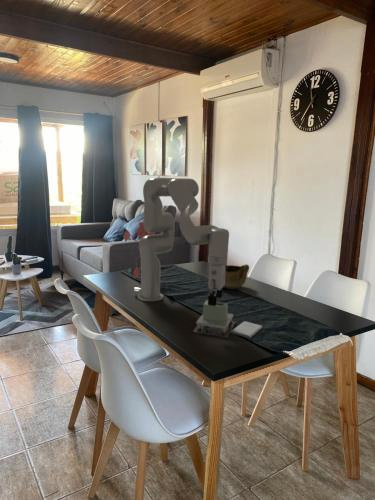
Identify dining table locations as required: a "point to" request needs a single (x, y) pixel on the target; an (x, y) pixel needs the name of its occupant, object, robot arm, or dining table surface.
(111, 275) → the dining table surface
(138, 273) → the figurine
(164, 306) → the dining table surface
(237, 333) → the external hard drive
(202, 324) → the chassis
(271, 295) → the dining table surface
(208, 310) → the pale green block
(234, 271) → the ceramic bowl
